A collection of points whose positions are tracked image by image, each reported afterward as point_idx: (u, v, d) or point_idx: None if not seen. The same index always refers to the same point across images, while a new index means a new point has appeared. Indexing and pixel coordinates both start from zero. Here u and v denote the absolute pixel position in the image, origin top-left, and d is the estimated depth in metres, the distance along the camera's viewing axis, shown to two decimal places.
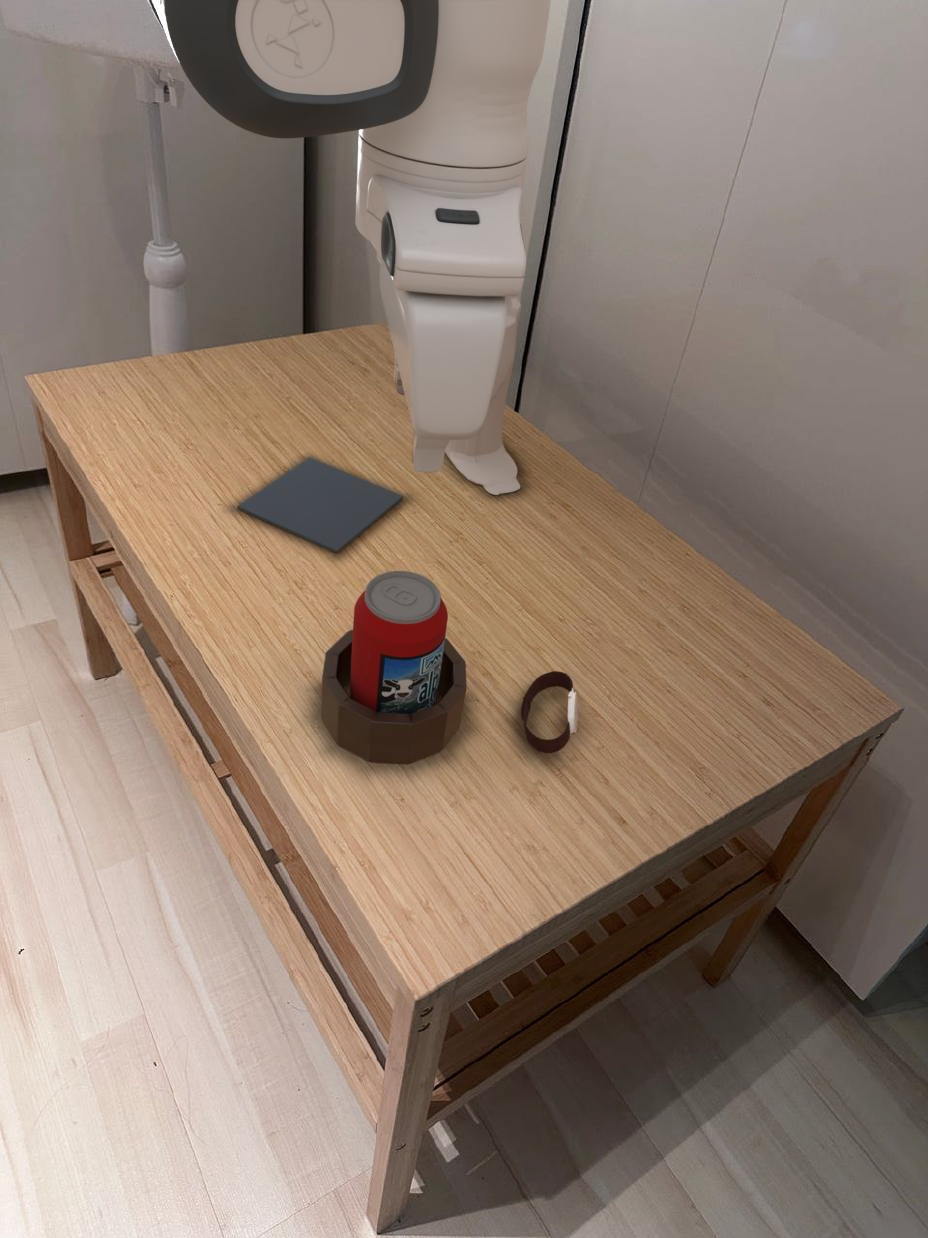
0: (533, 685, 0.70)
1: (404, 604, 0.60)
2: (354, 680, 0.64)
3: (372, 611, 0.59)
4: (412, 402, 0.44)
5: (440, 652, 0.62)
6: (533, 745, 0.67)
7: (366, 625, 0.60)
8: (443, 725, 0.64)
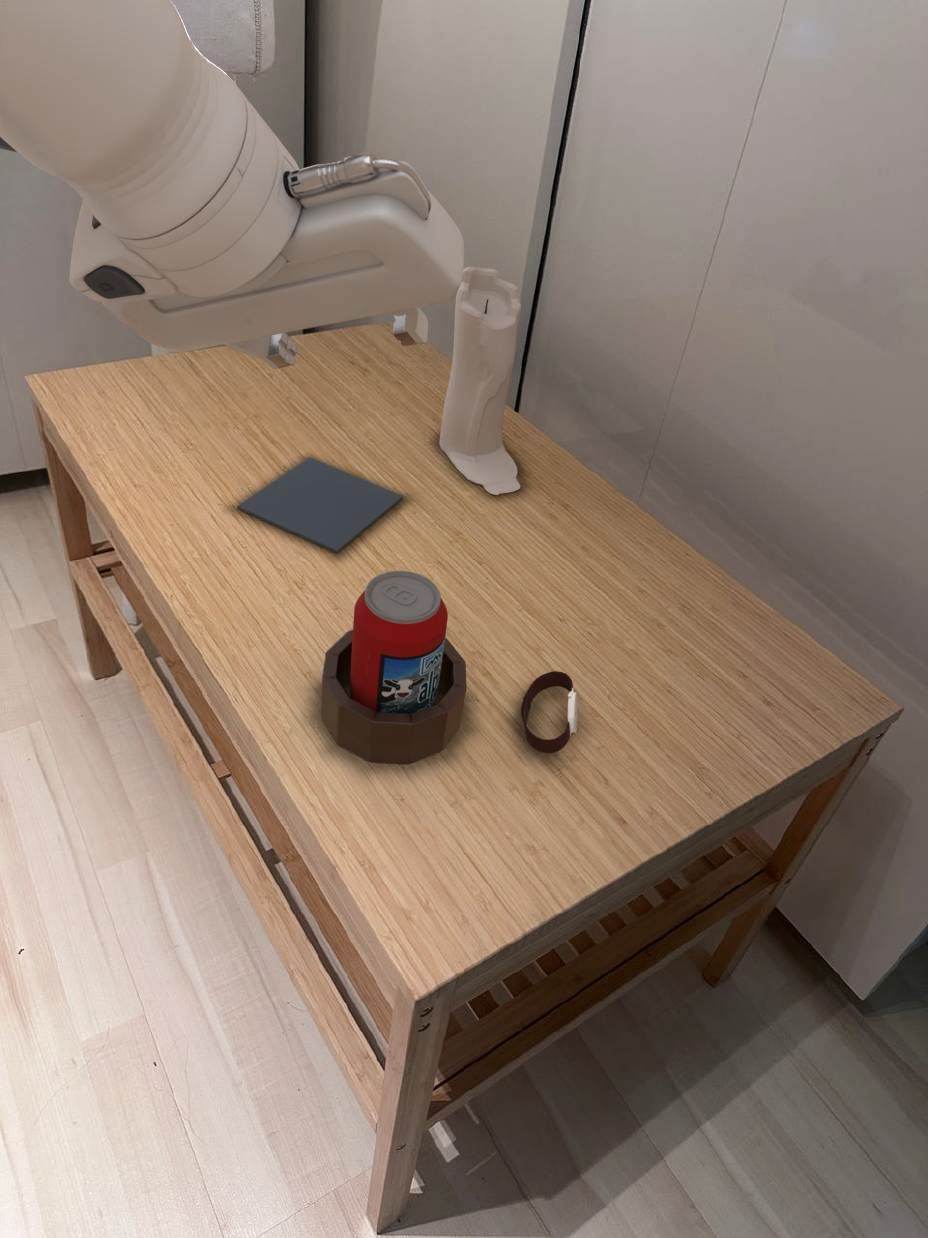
0: (533, 685, 0.70)
1: (404, 604, 0.60)
2: (354, 680, 0.64)
3: (372, 611, 0.59)
4: None
5: (440, 652, 0.62)
6: (533, 745, 0.67)
7: (366, 625, 0.60)
8: (443, 725, 0.64)
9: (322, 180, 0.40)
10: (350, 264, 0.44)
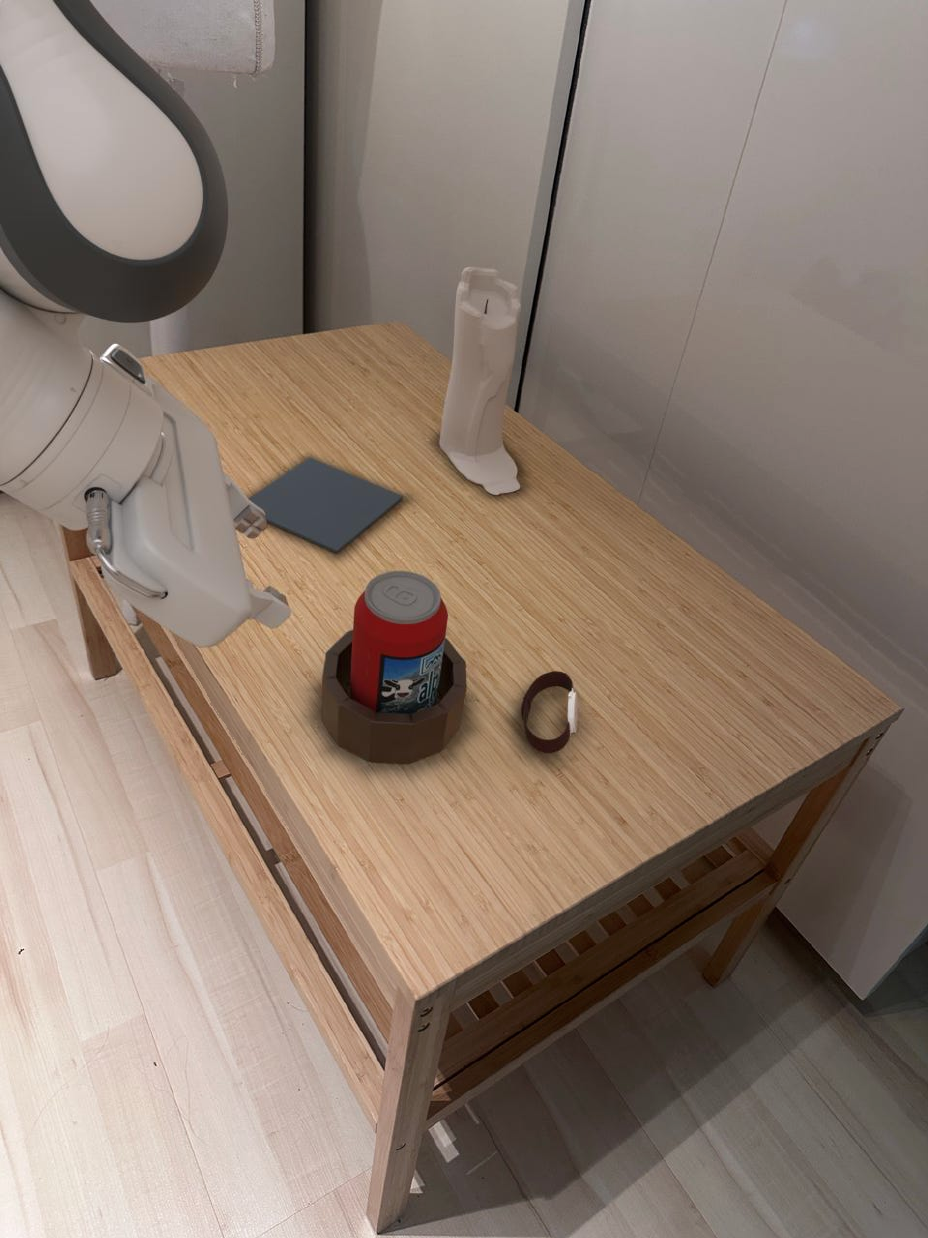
0: (533, 685, 0.70)
1: (404, 604, 0.60)
2: (354, 680, 0.64)
3: (372, 611, 0.59)
4: (194, 414, 0.59)
5: (440, 652, 0.62)
6: (533, 745, 0.67)
7: (366, 625, 0.60)
8: (443, 725, 0.64)
9: (88, 521, 0.44)
10: None
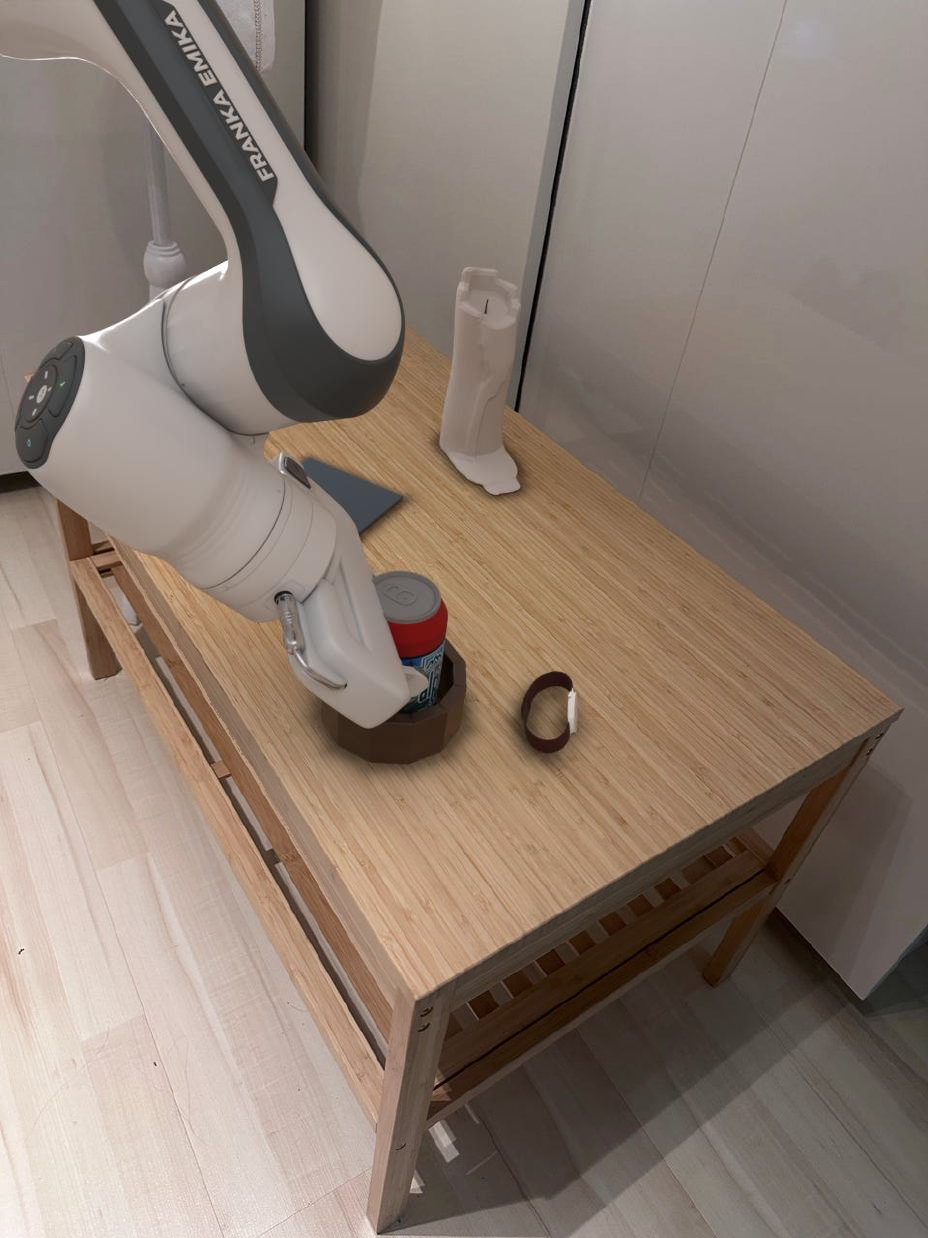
0: (533, 685, 0.70)
1: (404, 604, 0.60)
2: None
3: None
4: None
5: (440, 652, 0.62)
6: (533, 745, 0.67)
7: None
8: (443, 725, 0.64)
9: (280, 622, 0.51)
10: None
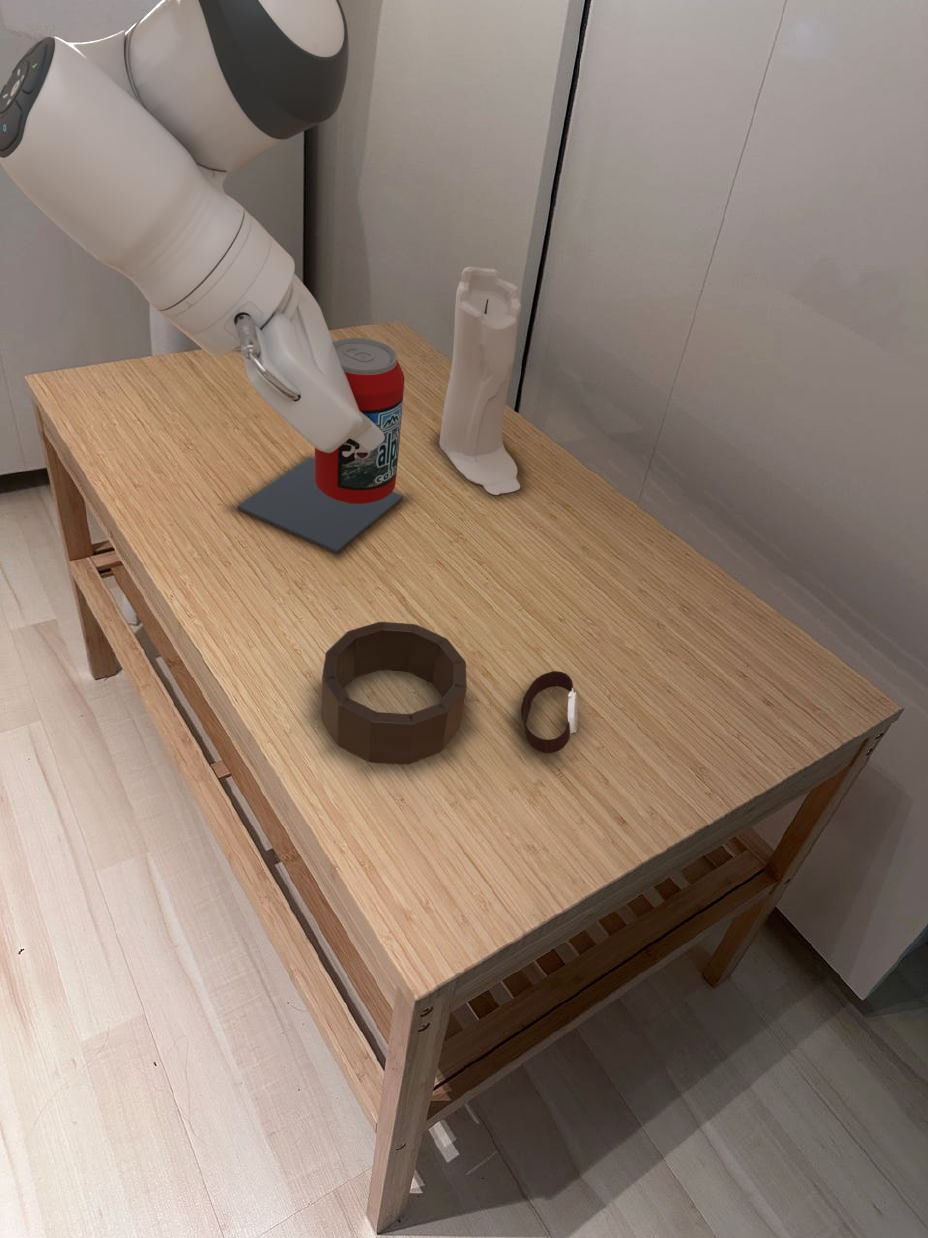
0: (533, 685, 0.70)
1: (362, 361, 0.64)
2: None
3: None
4: (304, 285, 0.70)
5: (397, 414, 0.66)
6: (533, 745, 0.67)
7: None
8: (443, 725, 0.64)
9: (239, 337, 0.55)
10: None
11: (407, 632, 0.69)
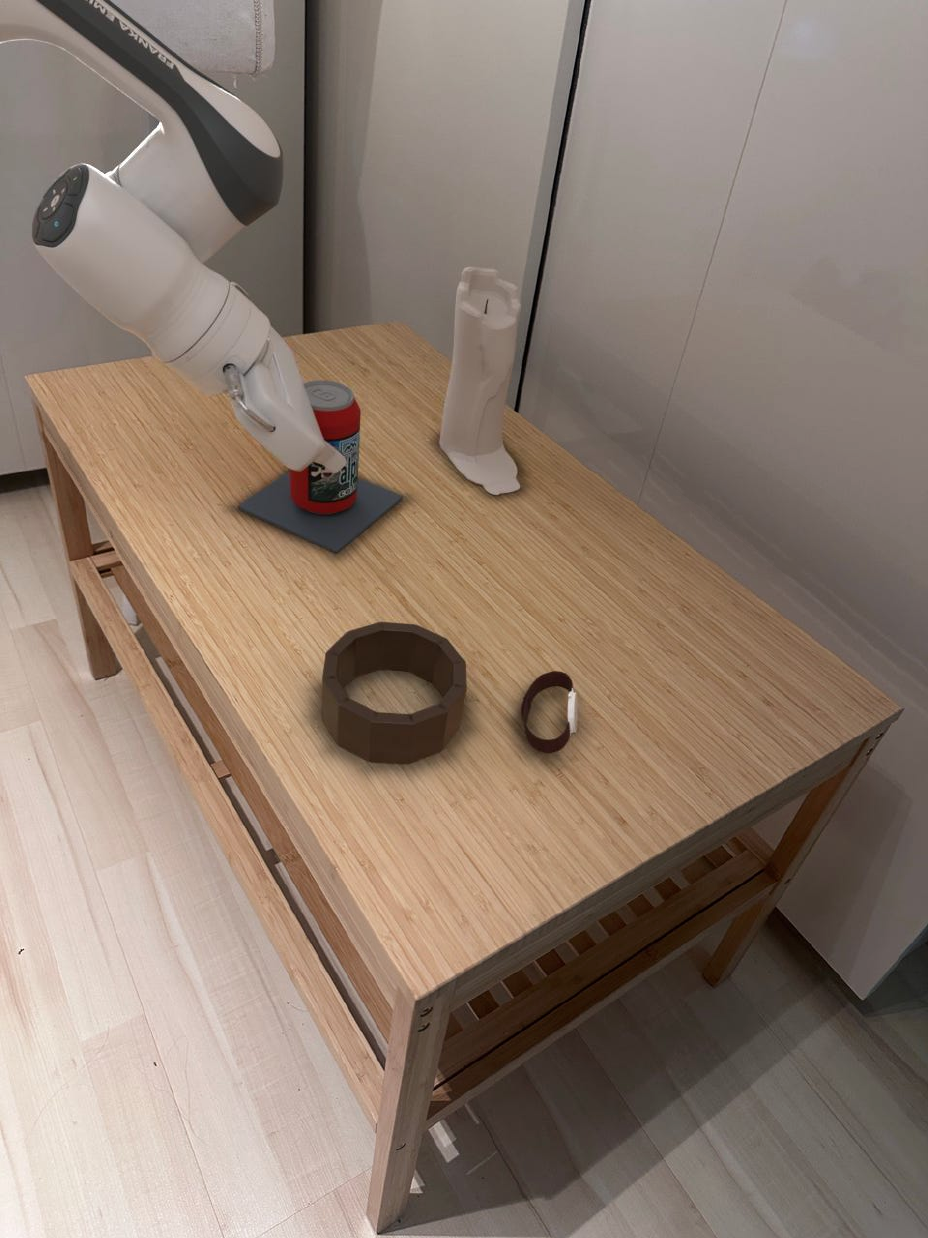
0: (533, 685, 0.70)
1: (325, 399, 0.80)
2: None
3: None
4: (279, 335, 0.85)
5: (355, 441, 0.82)
6: (533, 745, 0.67)
7: None
8: (443, 725, 0.64)
9: (226, 382, 0.70)
10: None
11: (407, 632, 0.69)
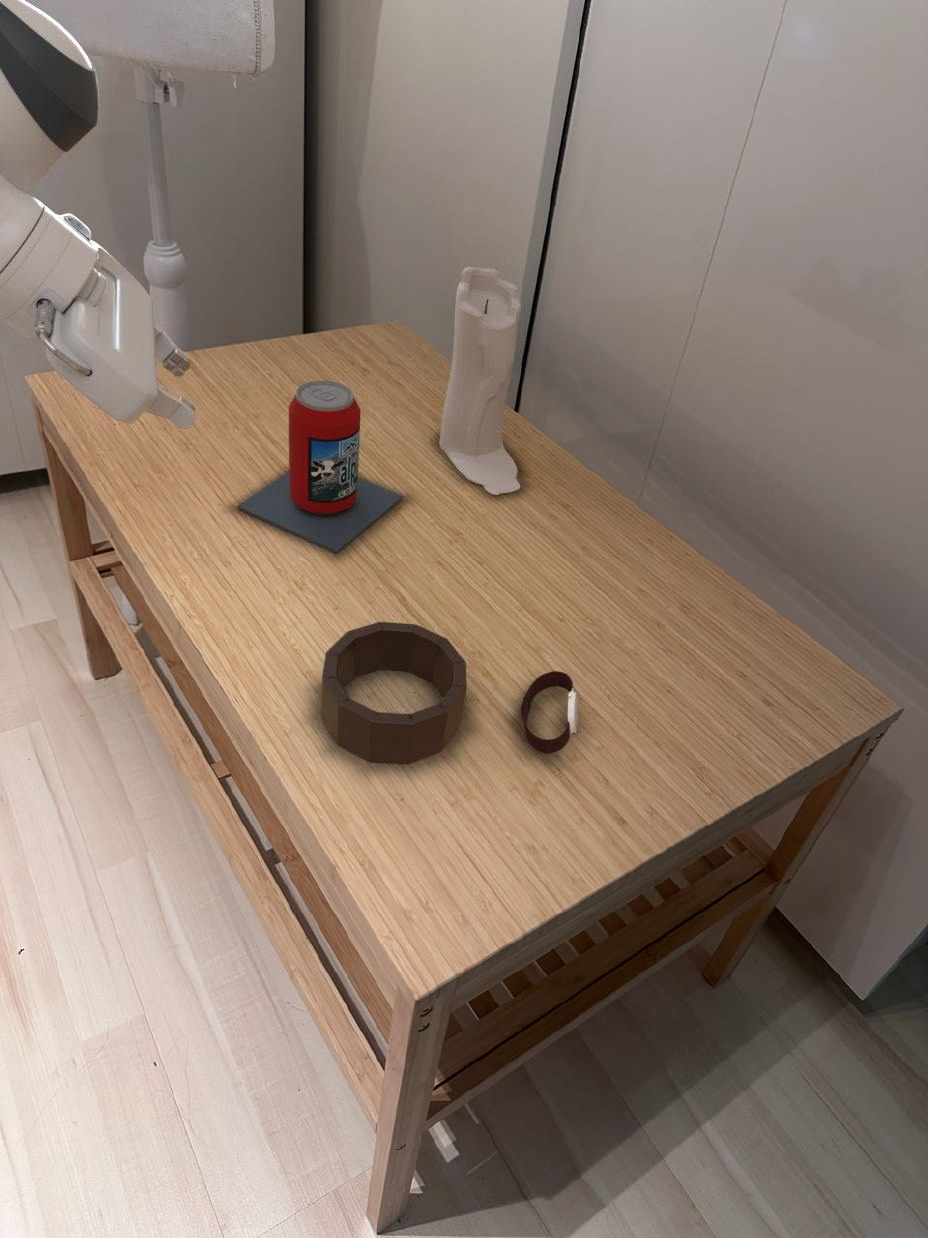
0: (533, 685, 0.70)
1: (325, 400, 0.80)
2: (291, 467, 0.84)
3: (301, 403, 0.79)
4: None
5: (355, 441, 0.82)
6: (533, 745, 0.67)
7: (297, 414, 0.79)
8: (443, 725, 0.64)
9: None
10: None
11: (407, 632, 0.69)
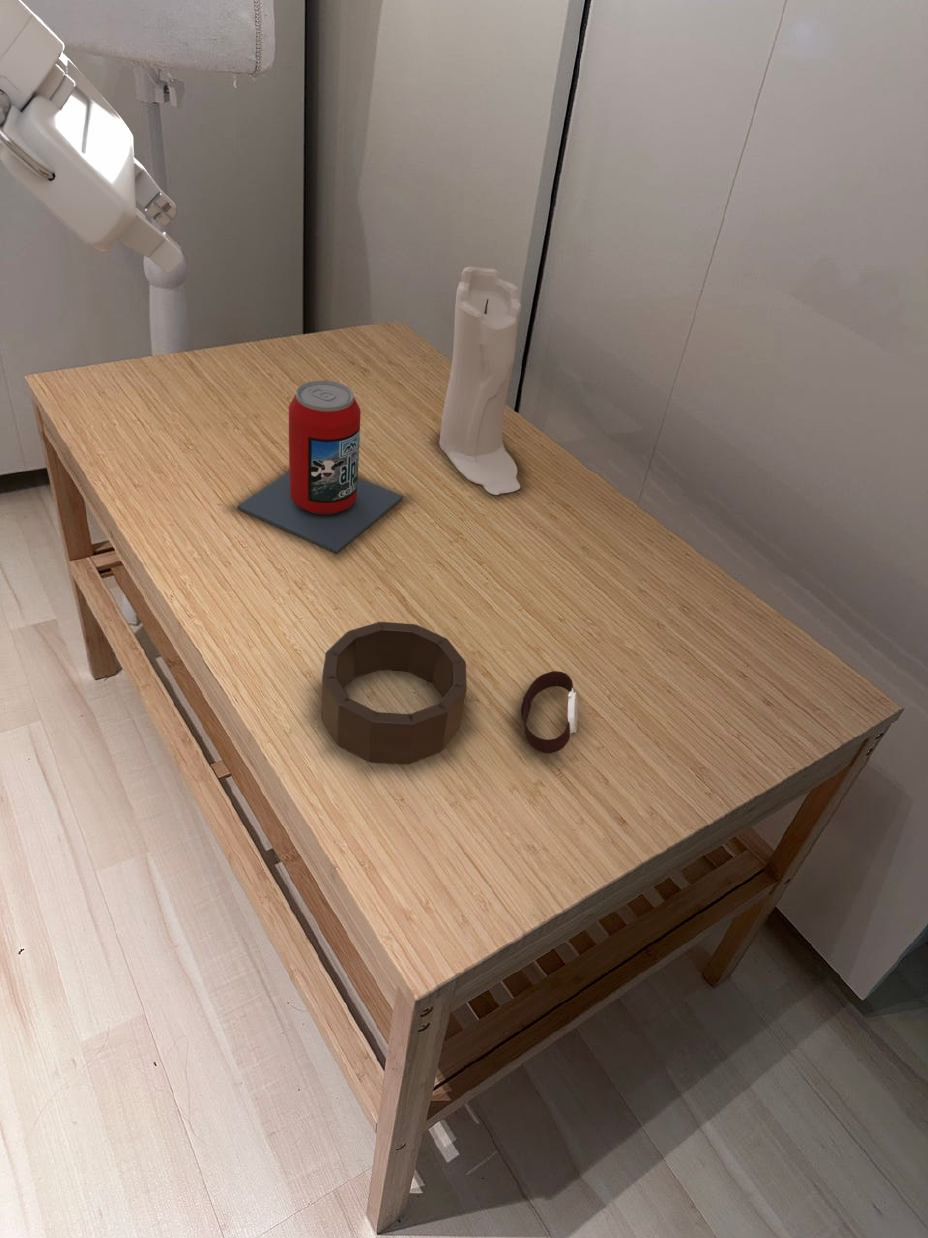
0: (533, 685, 0.70)
1: (325, 400, 0.80)
2: (291, 467, 0.84)
3: (301, 403, 0.79)
4: None
5: (355, 441, 0.82)
6: (533, 745, 0.67)
7: (297, 414, 0.79)
8: (443, 725, 0.64)
9: None
10: None
11: (407, 632, 0.69)
